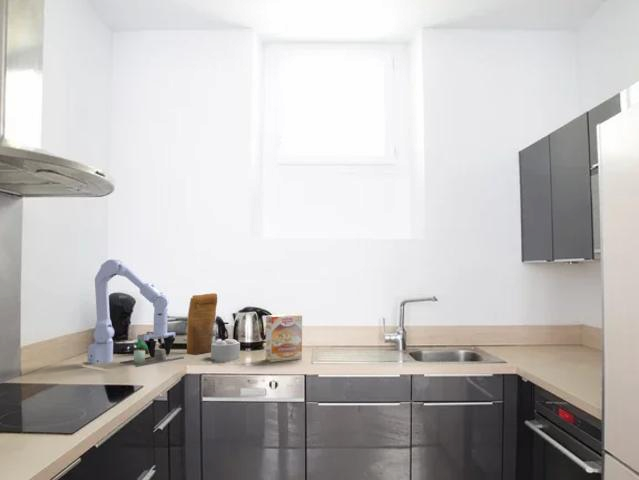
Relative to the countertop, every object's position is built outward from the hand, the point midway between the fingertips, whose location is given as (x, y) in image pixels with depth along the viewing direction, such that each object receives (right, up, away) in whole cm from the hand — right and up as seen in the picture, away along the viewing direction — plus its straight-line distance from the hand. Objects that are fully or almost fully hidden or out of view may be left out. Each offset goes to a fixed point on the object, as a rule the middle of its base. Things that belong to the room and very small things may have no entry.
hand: (159, 355), depth 215 cm
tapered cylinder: (-6, -1, -8) cm, 10 cm away
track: (-2, -3, -3) cm, 4 cm away
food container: (-11, -4, +17) cm, 21 cm away
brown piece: (-4, -2, -5) cm, 7 cm away
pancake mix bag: (+13, -4, +22) cm, 26 cm away
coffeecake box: (+53, -3, +6) cm, 54 cm away
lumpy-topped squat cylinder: (+27, -3, +6) cm, 28 cm away
